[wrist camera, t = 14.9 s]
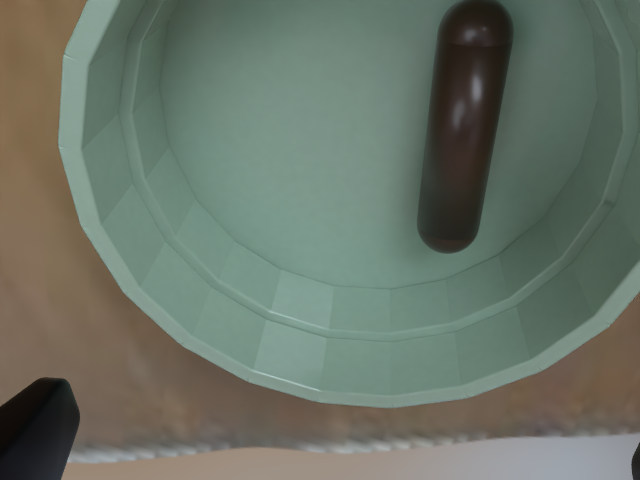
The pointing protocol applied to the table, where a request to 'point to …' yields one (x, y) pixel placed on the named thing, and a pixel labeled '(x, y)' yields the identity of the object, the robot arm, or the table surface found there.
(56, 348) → the table surface
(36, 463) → the robot arm
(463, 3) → the stick
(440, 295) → the bowl
